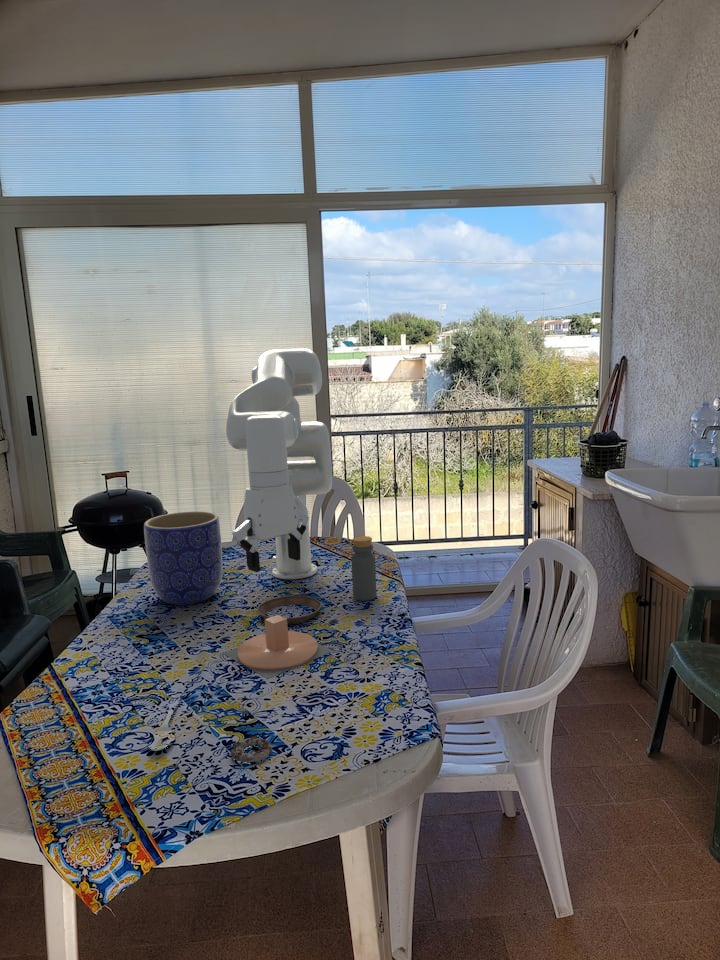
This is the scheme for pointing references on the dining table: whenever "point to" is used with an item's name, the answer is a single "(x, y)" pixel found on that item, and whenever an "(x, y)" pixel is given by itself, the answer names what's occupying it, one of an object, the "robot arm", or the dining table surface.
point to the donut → (259, 755)
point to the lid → (277, 647)
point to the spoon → (164, 728)
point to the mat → (270, 673)
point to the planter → (184, 556)
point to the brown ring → (288, 601)
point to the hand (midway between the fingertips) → (274, 564)
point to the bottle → (363, 569)
